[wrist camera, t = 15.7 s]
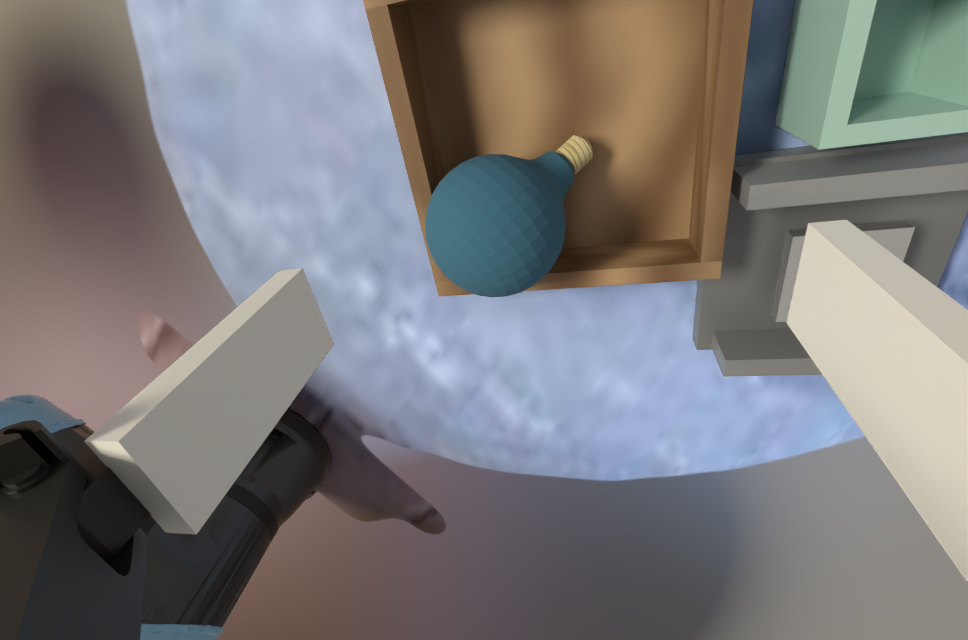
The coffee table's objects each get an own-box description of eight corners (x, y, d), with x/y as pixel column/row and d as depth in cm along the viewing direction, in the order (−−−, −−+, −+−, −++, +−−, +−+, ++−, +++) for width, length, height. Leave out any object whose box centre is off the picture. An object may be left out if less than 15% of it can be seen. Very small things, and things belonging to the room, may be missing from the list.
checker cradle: (692, 338, 36) (707, 379, 32) (709, 157, 29) (730, 182, 25) (902, 330, 33) (947, 376, 29) (980, 125, 26) (1057, 147, 22)
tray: (453, 267, 36) (438, 296, 33) (388, -15, 27) (358, -20, 23) (703, 247, 32) (720, 278, 28) (736, -98, 22) (767, -119, 19)
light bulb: (621, 90, 22) (439, 257, 21) (653, 213, 28) (511, 347, 27) (521, 71, 28) (376, 202, 27) (565, 176, 34) (447, 285, 33)
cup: (775, 124, 27) (818, 149, 22) (798, -20, 24) (855, -28, 19) (915, 106, 26) (995, 128, 21) (963, -52, 22) (1074, -70, 17)
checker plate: (770, 313, 31) (775, 322, 30) (786, 230, 28) (793, 237, 27) (875, 308, 29) (883, 317, 29) (904, 220, 26) (915, 227, 25)
